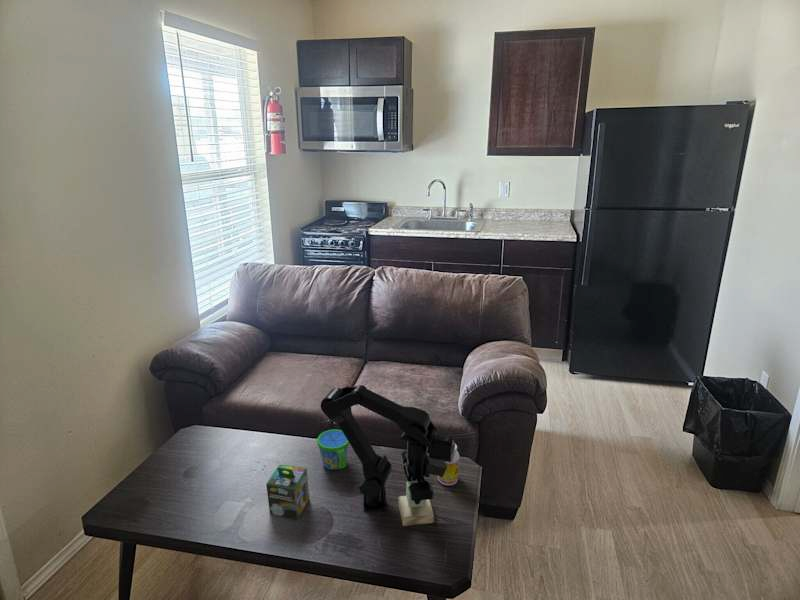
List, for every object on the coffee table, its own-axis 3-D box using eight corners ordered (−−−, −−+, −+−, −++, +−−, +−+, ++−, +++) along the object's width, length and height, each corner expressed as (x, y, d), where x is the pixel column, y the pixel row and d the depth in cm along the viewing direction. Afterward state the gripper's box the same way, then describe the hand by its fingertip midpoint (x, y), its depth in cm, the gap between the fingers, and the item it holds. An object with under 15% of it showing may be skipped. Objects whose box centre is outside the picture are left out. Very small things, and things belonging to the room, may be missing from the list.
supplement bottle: (456, 488, 163) (459, 454, 158) (436, 484, 164) (437, 451, 160) (459, 474, 169) (461, 441, 164) (438, 471, 170) (440, 438, 166)
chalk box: (310, 498, 158) (307, 458, 152) (297, 520, 149) (294, 478, 144) (282, 493, 160) (278, 453, 154) (268, 514, 151) (264, 473, 146)
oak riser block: (403, 525, 148) (403, 517, 147) (398, 503, 156) (398, 495, 155) (433, 522, 149) (434, 514, 148) (427, 500, 157) (427, 492, 156)
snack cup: (356, 474, 168) (355, 448, 165) (325, 482, 164) (323, 456, 161) (342, 447, 182) (342, 422, 178) (313, 453, 178) (312, 428, 174)
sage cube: (408, 507, 148) (409, 493, 146) (406, 495, 153) (406, 481, 151) (425, 505, 149) (426, 491, 147) (422, 493, 154) (423, 480, 152)
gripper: (453, 472, 138) (450, 518, 143) (437, 431, 155) (435, 474, 160) (412, 476, 136) (410, 522, 141) (401, 434, 153) (400, 477, 159)
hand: (415, 497), depth 151 cm, fingers closed on sage cube, 5 cm apart
